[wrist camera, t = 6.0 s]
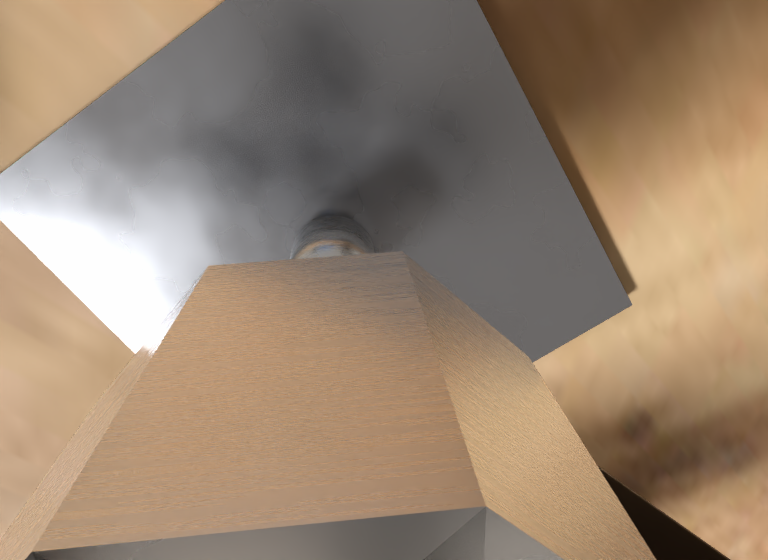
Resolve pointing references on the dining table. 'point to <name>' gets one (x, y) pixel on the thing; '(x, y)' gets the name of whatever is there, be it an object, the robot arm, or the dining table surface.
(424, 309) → the collar
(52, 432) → the dining table surface
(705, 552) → the robot arm
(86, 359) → the dining table surface
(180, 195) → the duct stub
